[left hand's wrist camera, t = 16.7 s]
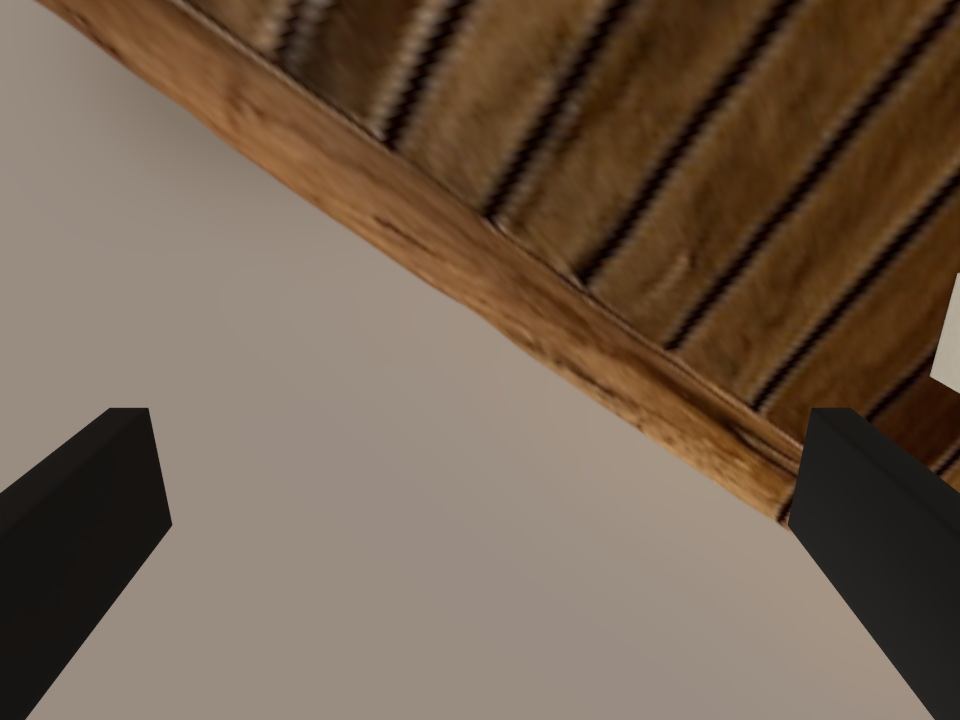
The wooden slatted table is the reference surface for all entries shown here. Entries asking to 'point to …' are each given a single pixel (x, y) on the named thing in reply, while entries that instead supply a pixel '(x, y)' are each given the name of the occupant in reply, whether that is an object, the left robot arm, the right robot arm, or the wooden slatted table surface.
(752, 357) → the wooden slatted table surface
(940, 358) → the brick
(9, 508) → the left robot arm
